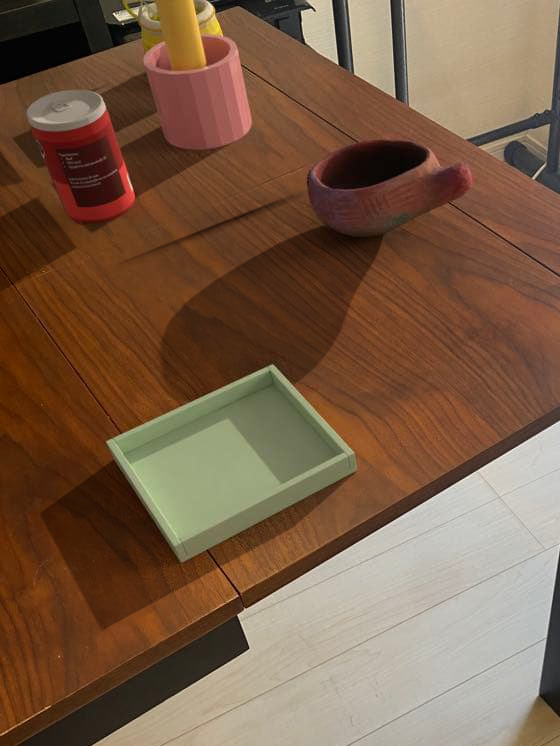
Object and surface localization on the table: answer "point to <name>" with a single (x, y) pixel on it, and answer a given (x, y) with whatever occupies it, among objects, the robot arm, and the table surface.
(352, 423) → the table surface
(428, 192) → the bowl
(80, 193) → the canned food
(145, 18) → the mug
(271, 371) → the tray
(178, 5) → the bottle
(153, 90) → the pot
